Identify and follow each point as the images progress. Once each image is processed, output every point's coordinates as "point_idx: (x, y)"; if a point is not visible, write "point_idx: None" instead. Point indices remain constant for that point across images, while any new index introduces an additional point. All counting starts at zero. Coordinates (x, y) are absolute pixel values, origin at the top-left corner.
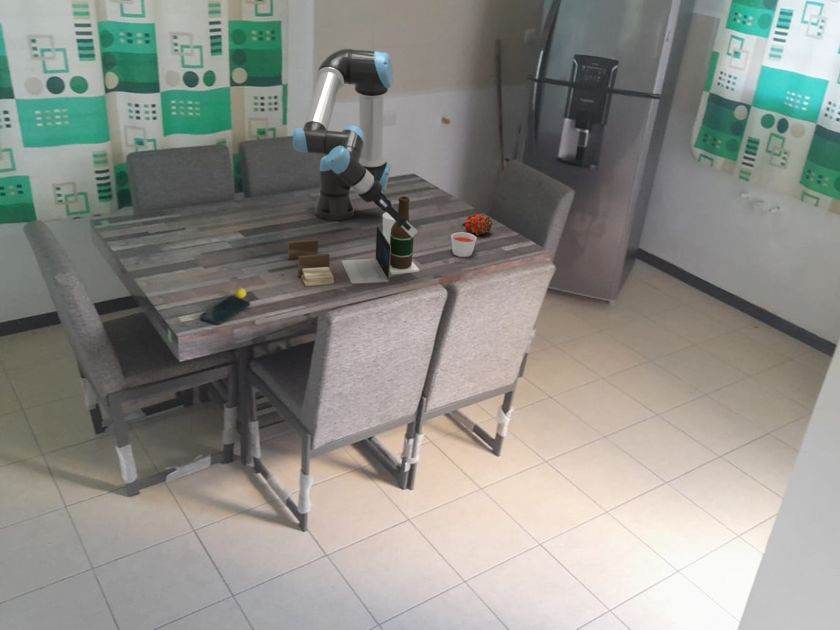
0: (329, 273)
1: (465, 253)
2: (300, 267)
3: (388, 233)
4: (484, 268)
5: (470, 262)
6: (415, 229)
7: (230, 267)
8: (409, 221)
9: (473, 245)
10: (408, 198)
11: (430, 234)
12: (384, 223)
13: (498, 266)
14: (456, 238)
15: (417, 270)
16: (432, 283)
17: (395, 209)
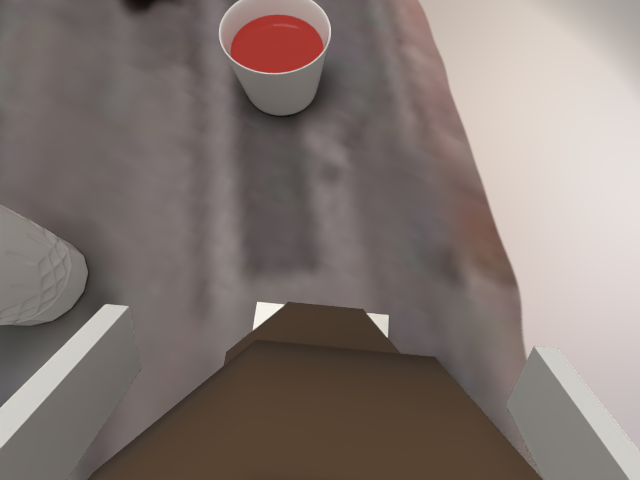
0: None
1: (318, 83)
2: None
3: (19, 311)
4: (420, 82)
5: (361, 99)
6: (580, 381)
7: None
8: (353, 344)
9: (320, 33)
10: (490, 466)
11: (74, 107)
12: None
13: (416, 40)
14: (236, 56)
15: (387, 324)
16: (506, 315)
17: (24, 430)
